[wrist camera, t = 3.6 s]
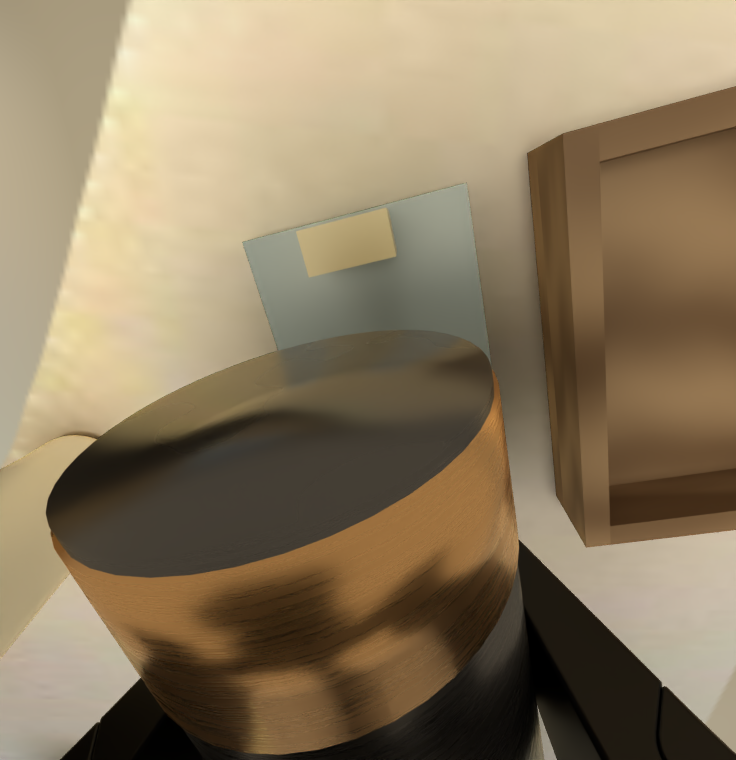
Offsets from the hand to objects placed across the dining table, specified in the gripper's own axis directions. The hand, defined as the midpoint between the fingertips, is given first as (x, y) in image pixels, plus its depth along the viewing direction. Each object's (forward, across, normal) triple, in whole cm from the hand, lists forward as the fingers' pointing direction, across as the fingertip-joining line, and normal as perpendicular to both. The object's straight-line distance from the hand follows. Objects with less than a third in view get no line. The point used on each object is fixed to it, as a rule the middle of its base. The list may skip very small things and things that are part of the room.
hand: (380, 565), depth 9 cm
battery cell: (0, 0, 0) cm, 0 cm away
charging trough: (+11, -12, 0) cm, 16 cm away
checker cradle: (+11, 0, 0) cm, 11 cm away
